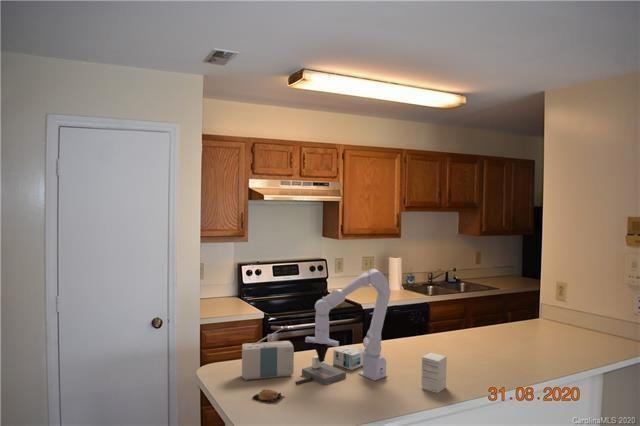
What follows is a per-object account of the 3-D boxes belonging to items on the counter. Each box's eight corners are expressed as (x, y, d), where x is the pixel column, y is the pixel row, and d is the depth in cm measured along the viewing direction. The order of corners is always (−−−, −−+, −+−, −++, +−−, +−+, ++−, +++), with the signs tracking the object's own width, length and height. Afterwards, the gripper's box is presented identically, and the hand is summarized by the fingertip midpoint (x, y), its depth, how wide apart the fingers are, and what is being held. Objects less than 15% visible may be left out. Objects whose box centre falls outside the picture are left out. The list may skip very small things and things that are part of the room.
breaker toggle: (321, 366, 206) (321, 356, 205) (315, 368, 203) (315, 358, 203) (318, 365, 207) (318, 355, 207) (312, 367, 205) (312, 356, 205)
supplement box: (429, 383, 196) (430, 352, 196) (446, 387, 192) (447, 356, 191) (420, 388, 191) (421, 356, 190) (438, 393, 186) (438, 360, 186)
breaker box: (345, 378, 200) (345, 372, 200) (323, 385, 193) (323, 378, 193) (323, 368, 211) (323, 362, 211) (301, 374, 203) (301, 368, 203)
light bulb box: (332, 364, 216) (351, 370, 209) (333, 349, 216) (352, 355, 209) (347, 358, 224) (366, 364, 217) (347, 344, 224) (367, 349, 217)
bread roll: (286, 398, 181) (286, 388, 181) (275, 406, 174) (275, 396, 174) (261, 392, 186) (261, 383, 186) (249, 401, 178) (250, 391, 178)
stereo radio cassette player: (242, 382, 195) (243, 332, 194) (240, 374, 203) (241, 327, 202) (293, 377, 200) (294, 329, 200) (289, 370, 208) (290, 324, 208)
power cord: (312, 380, 197) (312, 377, 197) (297, 385, 192) (297, 382, 192) (311, 379, 198) (311, 376, 198) (295, 384, 193) (295, 381, 193)
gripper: (341, 328, 203) (341, 361, 203) (310, 324, 209) (310, 355, 210) (334, 333, 196) (334, 366, 197) (303, 328, 203) (302, 360, 203)
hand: (321, 361), depth 203 cm, fingers closed
